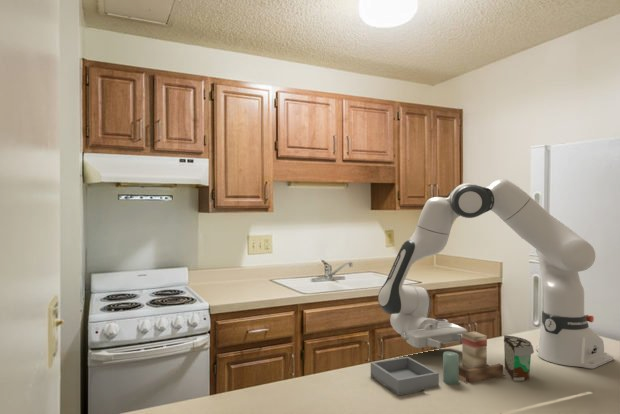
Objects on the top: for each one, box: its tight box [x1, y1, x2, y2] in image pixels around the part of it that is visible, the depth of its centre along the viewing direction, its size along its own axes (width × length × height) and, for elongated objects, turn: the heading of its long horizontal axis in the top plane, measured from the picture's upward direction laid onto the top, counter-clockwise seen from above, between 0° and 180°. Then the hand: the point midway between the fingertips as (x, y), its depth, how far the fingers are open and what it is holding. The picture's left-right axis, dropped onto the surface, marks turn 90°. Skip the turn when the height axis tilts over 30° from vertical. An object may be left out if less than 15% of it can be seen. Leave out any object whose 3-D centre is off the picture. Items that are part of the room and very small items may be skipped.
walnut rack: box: [459, 363, 507, 384], centre depth 120 cm, size 14×9×4 cm, turn 112°
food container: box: [503, 335, 535, 383], centre depth 119 cm, size 12×6×10 cm, turn 168°
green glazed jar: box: [442, 351, 460, 386], centre depth 115 cm, size 4×4×8 cm
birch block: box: [461, 330, 488, 370], centre depth 120 cm, size 5×5×11 cm
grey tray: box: [370, 356, 440, 397], centre depth 116 cm, size 13×14×4 cm
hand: (453, 343), depth 128 cm, fingers open, 8 cm apart
